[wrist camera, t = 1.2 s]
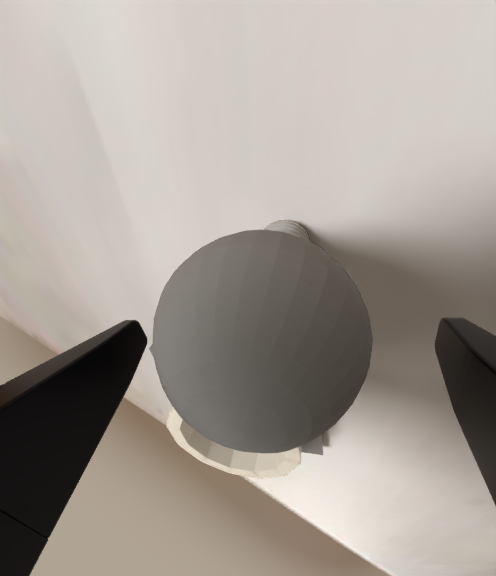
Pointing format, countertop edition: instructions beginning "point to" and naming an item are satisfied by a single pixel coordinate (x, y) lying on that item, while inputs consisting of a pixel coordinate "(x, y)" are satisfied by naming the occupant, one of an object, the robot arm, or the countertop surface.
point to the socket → (237, 452)
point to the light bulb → (261, 340)
